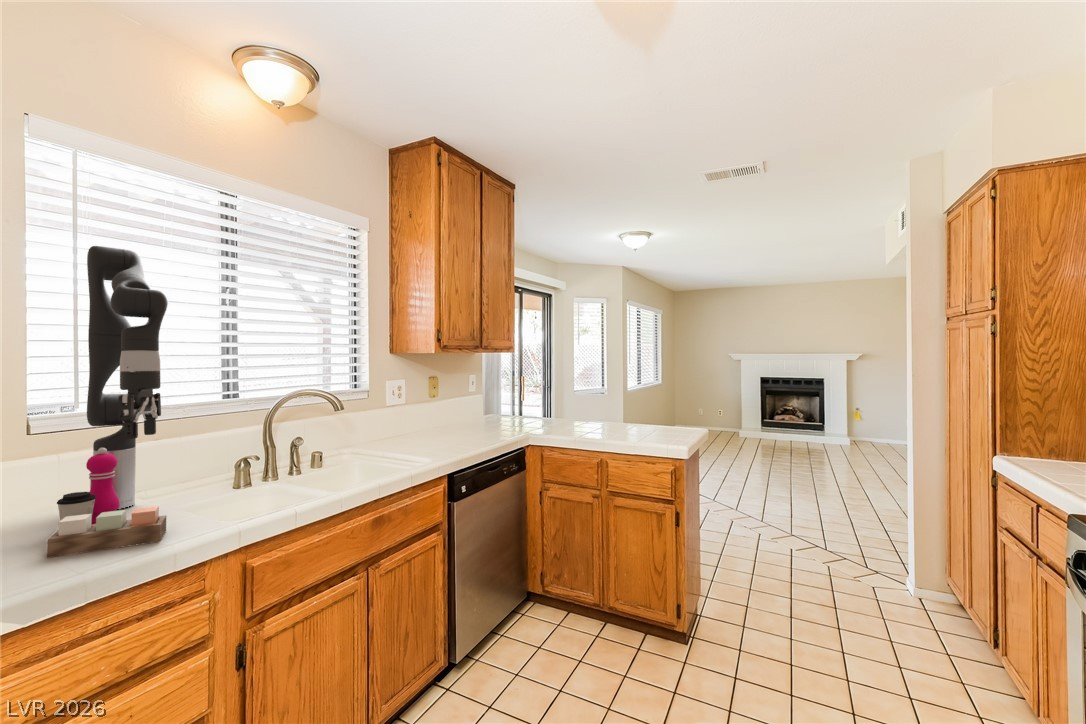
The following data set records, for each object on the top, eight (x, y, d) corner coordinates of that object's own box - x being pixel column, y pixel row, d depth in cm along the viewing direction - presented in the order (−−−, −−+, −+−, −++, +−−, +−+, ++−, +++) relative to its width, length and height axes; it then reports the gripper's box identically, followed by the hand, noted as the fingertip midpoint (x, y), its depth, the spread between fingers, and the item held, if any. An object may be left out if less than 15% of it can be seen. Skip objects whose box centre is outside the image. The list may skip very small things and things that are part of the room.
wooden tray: (46, 557, 103) (47, 538, 103) (60, 545, 110) (60, 527, 110) (160, 541, 113) (160, 523, 113) (166, 531, 120) (166, 514, 120)
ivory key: (58, 542, 105) (58, 522, 105) (65, 536, 109) (65, 516, 109) (85, 538, 107) (85, 519, 107) (91, 532, 111) (91, 513, 111)
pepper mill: (96, 529, 120) (97, 450, 120) (74, 526, 122) (75, 449, 122) (126, 520, 127) (127, 446, 128) (105, 518, 129) (106, 444, 129)
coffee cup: (103, 531, 119) (103, 491, 119) (71, 541, 112) (72, 499, 112) (80, 529, 120) (81, 489, 120) (47, 539, 113) (48, 497, 113)
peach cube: (131, 532, 111) (131, 513, 111) (135, 527, 115) (135, 508, 115) (155, 529, 114) (155, 510, 114) (158, 524, 117) (158, 506, 117)
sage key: (95, 537, 108) (96, 517, 108) (101, 531, 112) (101, 512, 112) (121, 534, 110) (121, 514, 110) (125, 528, 114) (126, 509, 114)
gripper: (137, 371, 121) (138, 434, 120) (104, 369, 107) (104, 441, 107) (172, 370, 123) (172, 432, 122) (143, 368, 109) (144, 439, 109)
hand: (141, 436), depth 114 cm, fingers open, 8 cm apart
